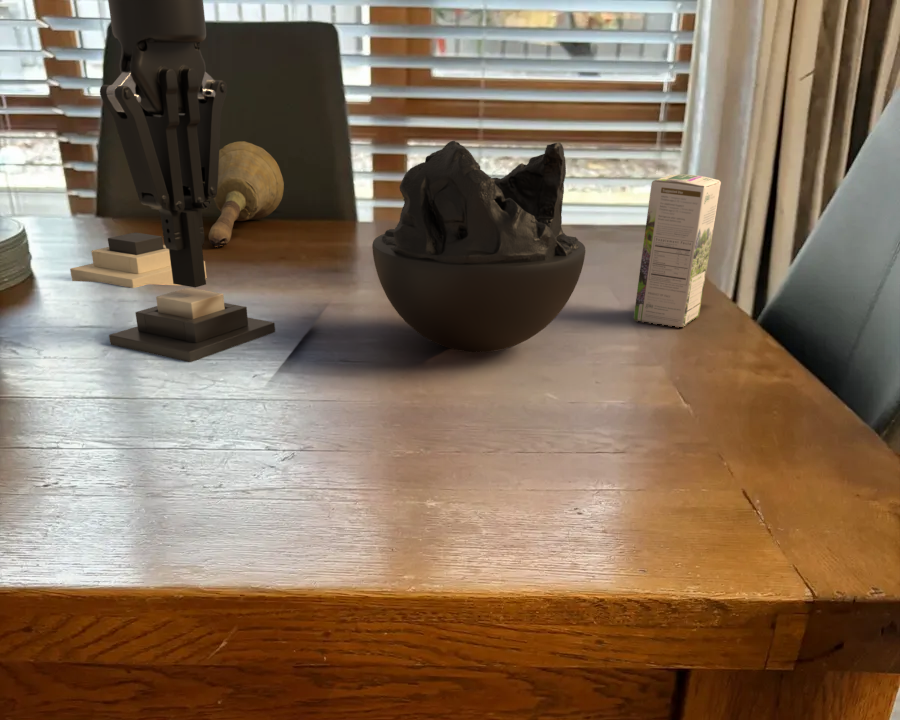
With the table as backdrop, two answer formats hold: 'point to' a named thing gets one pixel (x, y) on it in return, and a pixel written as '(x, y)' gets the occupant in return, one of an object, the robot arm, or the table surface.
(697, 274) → the syrup box
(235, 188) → the handbell
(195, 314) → the key near
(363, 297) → the table surface
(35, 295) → the table surface
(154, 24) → the robot arm
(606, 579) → the table surface
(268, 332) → the tiered square pedestal
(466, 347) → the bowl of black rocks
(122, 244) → the key far
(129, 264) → the stepped ziggurat stack
